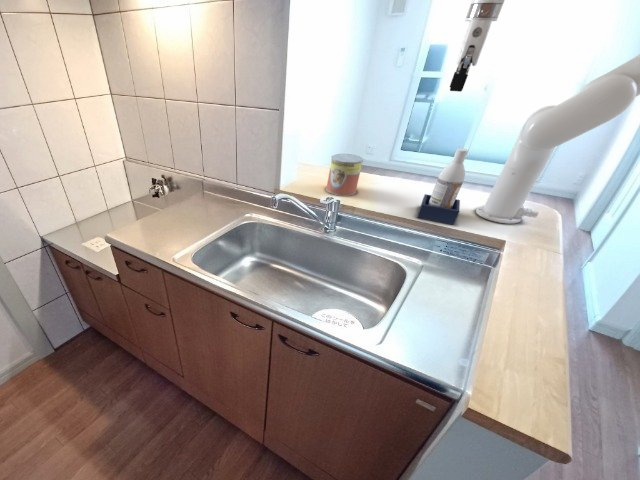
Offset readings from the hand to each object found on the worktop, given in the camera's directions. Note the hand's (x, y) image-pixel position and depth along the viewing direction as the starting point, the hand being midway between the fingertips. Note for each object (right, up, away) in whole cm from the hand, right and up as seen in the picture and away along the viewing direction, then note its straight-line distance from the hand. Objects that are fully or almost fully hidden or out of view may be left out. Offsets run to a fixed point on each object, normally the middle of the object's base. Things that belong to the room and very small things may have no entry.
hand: (455, 89), depth 97 cm
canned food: (-26, -21, +28) cm, 44 cm away
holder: (0, -35, +10) cm, 37 cm away
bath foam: (0, -35, +10) cm, 37 cm away
